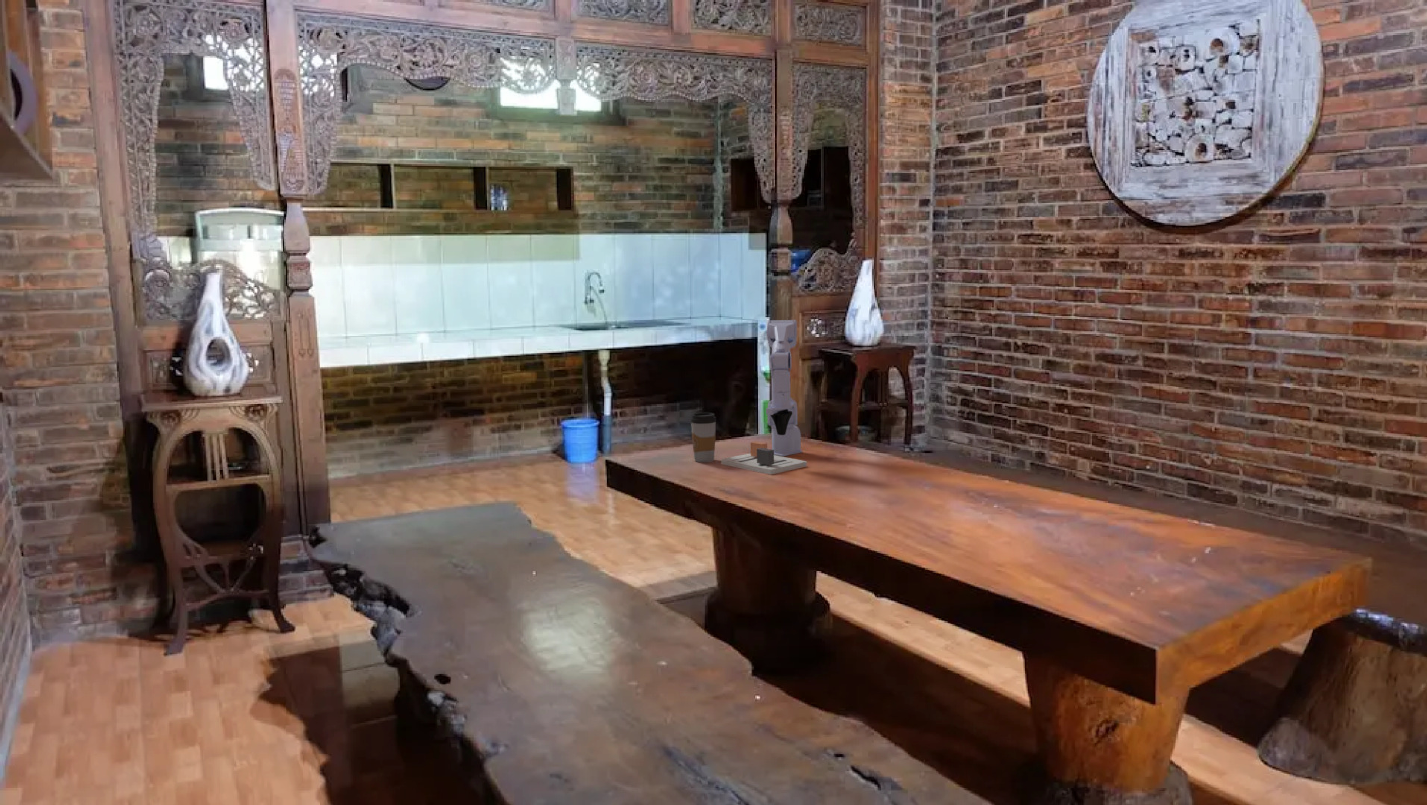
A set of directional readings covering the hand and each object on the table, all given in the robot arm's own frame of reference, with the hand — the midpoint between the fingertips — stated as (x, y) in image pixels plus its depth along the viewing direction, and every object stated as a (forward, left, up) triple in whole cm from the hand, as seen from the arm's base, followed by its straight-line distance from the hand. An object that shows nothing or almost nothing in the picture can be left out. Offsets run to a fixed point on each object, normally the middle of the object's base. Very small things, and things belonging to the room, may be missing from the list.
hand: (781, 434), depth 306 cm
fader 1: (+1, -9, -8) cm, 12 cm away
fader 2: (+7, 0, -8) cm, 11 cm away
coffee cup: (+11, -24, -10) cm, 28 cm away
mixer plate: (+3, -5, -10) cm, 11 cm away
